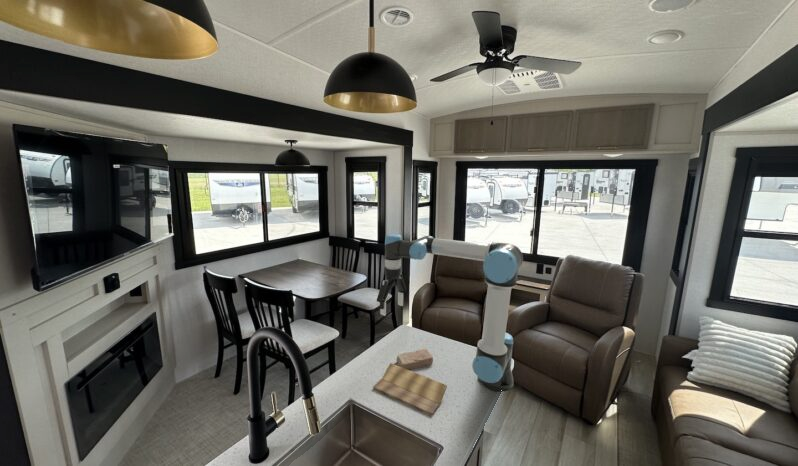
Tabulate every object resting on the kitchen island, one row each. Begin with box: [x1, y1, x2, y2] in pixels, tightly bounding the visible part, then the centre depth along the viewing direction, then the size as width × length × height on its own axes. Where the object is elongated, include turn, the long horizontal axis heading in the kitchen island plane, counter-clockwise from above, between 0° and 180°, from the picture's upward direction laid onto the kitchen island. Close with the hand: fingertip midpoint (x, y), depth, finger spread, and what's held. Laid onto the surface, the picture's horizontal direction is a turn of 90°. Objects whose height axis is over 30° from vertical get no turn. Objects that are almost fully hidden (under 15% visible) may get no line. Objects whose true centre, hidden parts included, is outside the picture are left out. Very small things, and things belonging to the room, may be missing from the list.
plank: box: [381, 362, 448, 406], centre depth 134 cm, size 28×8×1 cm
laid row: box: [372, 378, 440, 417], centre depth 128 cm, size 28×6×1 cm, turn 58°
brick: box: [396, 348, 434, 371], centre depth 152 cm, size 17×8×5 cm, turn 111°
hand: (392, 309), depth 148 cm, fingers open, 13 cm apart
